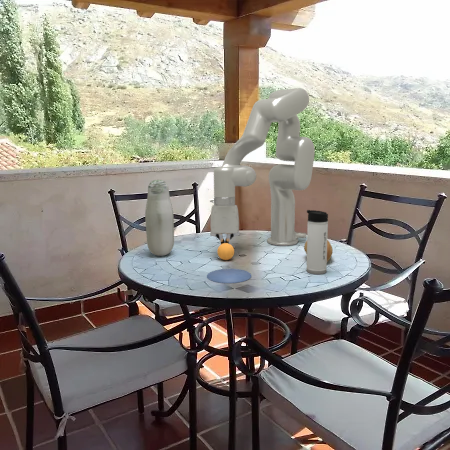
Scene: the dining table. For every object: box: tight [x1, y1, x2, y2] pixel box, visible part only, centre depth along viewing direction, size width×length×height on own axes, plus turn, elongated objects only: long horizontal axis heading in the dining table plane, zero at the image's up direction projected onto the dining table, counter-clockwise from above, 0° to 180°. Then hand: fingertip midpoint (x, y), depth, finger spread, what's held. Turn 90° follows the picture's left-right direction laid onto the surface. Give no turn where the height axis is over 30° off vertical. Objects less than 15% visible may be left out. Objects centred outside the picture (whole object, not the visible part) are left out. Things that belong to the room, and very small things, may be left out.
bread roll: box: [303, 239, 333, 263], centre depth 154 cm, size 10×15×8 cm, turn 178°
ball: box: [216, 243, 235, 261], centre depth 156 cm, size 6×6×6 cm
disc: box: [206, 268, 252, 284], centre depth 138 cm, size 14×14×1 cm
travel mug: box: [306, 209, 329, 275], centre depth 139 cm, size 6×7×20 cm
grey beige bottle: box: [144, 179, 175, 257], centre depth 161 cm, size 10×10×28 cm
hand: (224, 251), depth 161 cm, fingers closed
